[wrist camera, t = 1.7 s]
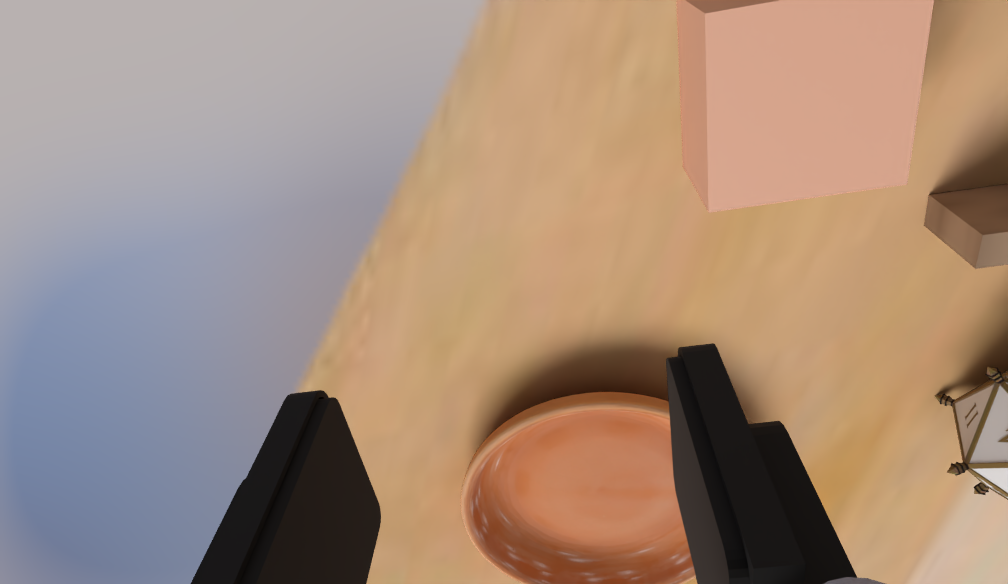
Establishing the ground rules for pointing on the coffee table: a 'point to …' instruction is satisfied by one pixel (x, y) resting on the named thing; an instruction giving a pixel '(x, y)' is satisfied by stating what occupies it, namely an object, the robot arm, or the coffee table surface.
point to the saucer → (580, 494)
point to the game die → (983, 432)
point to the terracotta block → (798, 96)
